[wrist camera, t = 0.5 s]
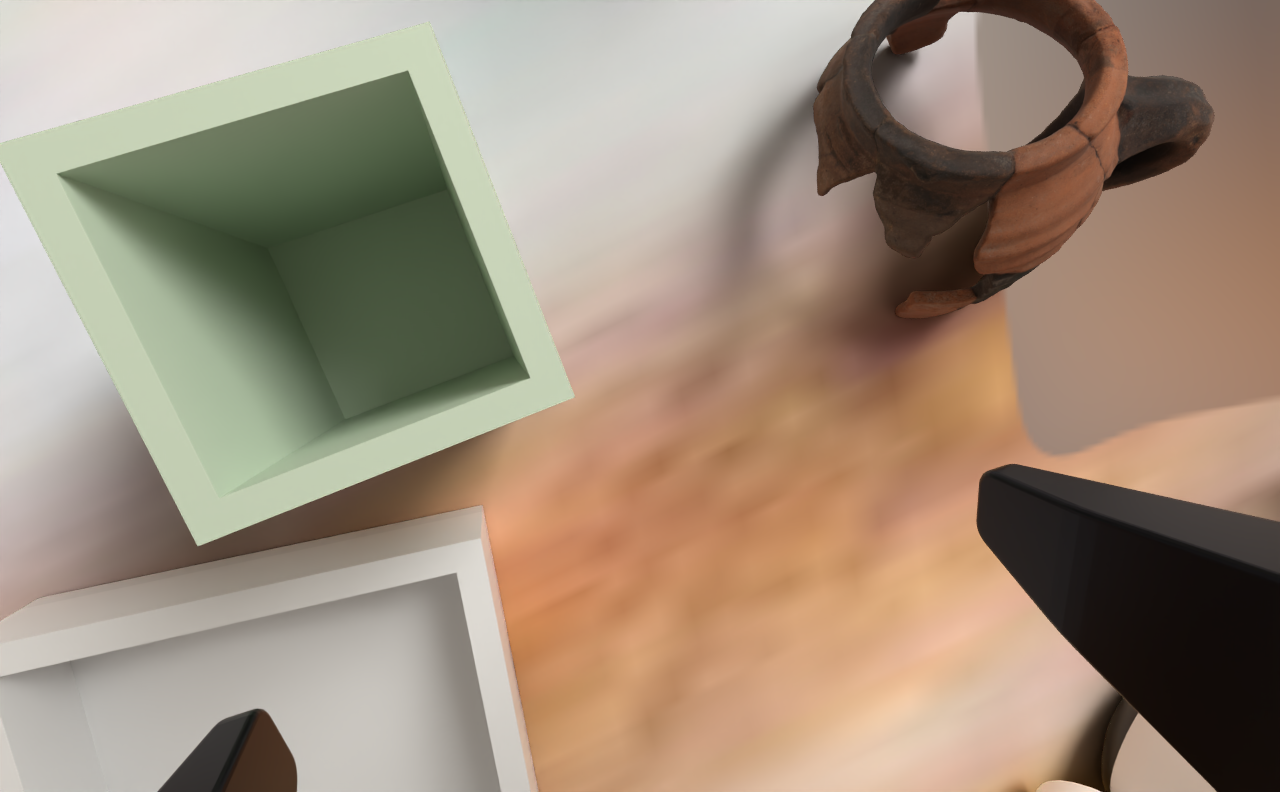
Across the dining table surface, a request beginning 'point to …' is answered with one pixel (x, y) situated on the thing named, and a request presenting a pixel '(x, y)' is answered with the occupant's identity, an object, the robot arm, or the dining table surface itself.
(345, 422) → the green crate
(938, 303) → the pottery mug
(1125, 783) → the spread jar
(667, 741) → the dining table surface
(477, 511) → the grey crate
